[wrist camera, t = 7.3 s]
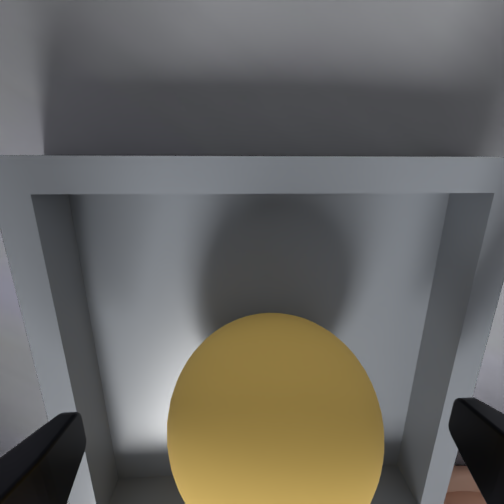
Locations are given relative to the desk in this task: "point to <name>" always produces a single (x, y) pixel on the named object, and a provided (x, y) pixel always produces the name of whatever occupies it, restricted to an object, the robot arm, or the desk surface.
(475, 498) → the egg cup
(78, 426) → the robot arm
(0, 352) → the desk surface
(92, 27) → the desk surface
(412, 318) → the tray
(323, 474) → the ball
